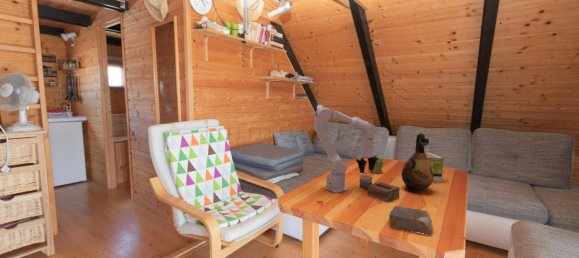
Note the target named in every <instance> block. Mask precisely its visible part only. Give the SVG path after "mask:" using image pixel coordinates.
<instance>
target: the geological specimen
mask: <svg viewBox="0 0 579 258" xmlns="http://www.w3.org/2000/svg"><path fill="white" fill-rule="evenodd" d="M392 208H393V209H392V210H390V212H389V215H388V217H389V223H390V228H393V229H398V230H401V231H406V230H408V231H407V232H410V231H413V232H412V233H416V232H420V233H424V234H428V235H427V236H429V235H431V234H432V235H433V231H432V230H433V225H432V219H431V215H430V213H429V212H428V211H427V210H423V209H417V208H412V207H404V206H398V205H395V206H393V207H392ZM420 233H419V234H420ZM424 234H423V235H424ZM432 235H431V236H432Z"/></svg>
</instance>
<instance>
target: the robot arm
mask: <svg viewBox="0 0 579 258" xmlns="http://www.w3.org/2000/svg"><path fill="white" fill-rule="evenodd" d="M331 119H332V120H333V119H338V120H340V121H342V122H343V123H347V124H349V127H350V128H352V129H354V130H357V131H359V132H362V142H361V153H360V154H359V155H357V156H356V158H355V161H356V163H357V165H358V168H359V169H358V171H359V173H361V174H365V170H366V165H367V163H368V170H369V171H370V172H371V171H373V169H374V166H375V163H376V161H377V160H378V158H379V157H378V153H377V152H374V146H375V134H376V133H377V130H378V129H377V128H376V126H375V125H374V123H369V121H367V120H364V119H361V117H359V116H353V117H350V116H349V115H346V114H345V113H342V112H340V111H337V110H335V109H332V108H329V107H325V106H320V107H318V108H317V109H316V110H315V113H314V122H313V128H314V131H315V132H316V134H317V137H318V138H319V140H320V142H321V145H322V146H323V149H324V150H325V153H326V154H327V156H328V159H329V162H330V168H331V171H330V173H329V174H328V175H327V176H326V184H325V186H326V187H324V189H325V190H327V191H329V192H332V193H335V194H338V193H341V192H344V191H348V190H349V188H347V187H345V185H346V184H345V183H346V182H345V181H346V172H347V170H348V167H347V166H348V165H347V164H346V163H345V162H343V160H342V158H341V157H340V155H339V154H338V151H337V150H336V148H335V146H334V143H333V142H332V139H331V138H330V136H329V133H328V132H327V129H326V125H327V123H328V122H329V121H330V120H331ZM365 159H367V160H365Z"/></svg>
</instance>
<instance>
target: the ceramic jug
mask: <svg viewBox="0 0 579 258" xmlns="http://www.w3.org/2000/svg"><path fill="white" fill-rule="evenodd" d="M429 143H430V139H429V138H426V136H425V133H422V132H421V133H418V134H417V135H416V140H415V150H414V153H412V155H411V156H410V157H409V158H408V159H407V160H406V162H405V163H404V165H403V166H402V169H401V179H402V181H403V183H404V185H405V189H406V190H407V191H410V192H413V193H417V194H418V193H425V191H426V190H428V188H429V187H430V186H431V185H432V184H433V183H434V182H433V179H434V172H433V167H432V165H431V163H430V161H429V159H428V157H427V156H426V154H425V153H426V152H425V147H426V146H428V145H429Z"/></svg>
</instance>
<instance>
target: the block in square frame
mask: <svg viewBox="0 0 579 258" xmlns="http://www.w3.org/2000/svg"><path fill="white" fill-rule="evenodd" d="M400 190H401V189H400V187H399V186H395V185H392V184H388V183H386V182H382V181H378V182H375V183H372V184H371V185H368V190H367V196H369V197H371V198H375V199H378V200H379V201H380V200H381V201H384V202H386V203H388V202H392V201H394V200H396V199H399V198H400Z"/></svg>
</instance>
